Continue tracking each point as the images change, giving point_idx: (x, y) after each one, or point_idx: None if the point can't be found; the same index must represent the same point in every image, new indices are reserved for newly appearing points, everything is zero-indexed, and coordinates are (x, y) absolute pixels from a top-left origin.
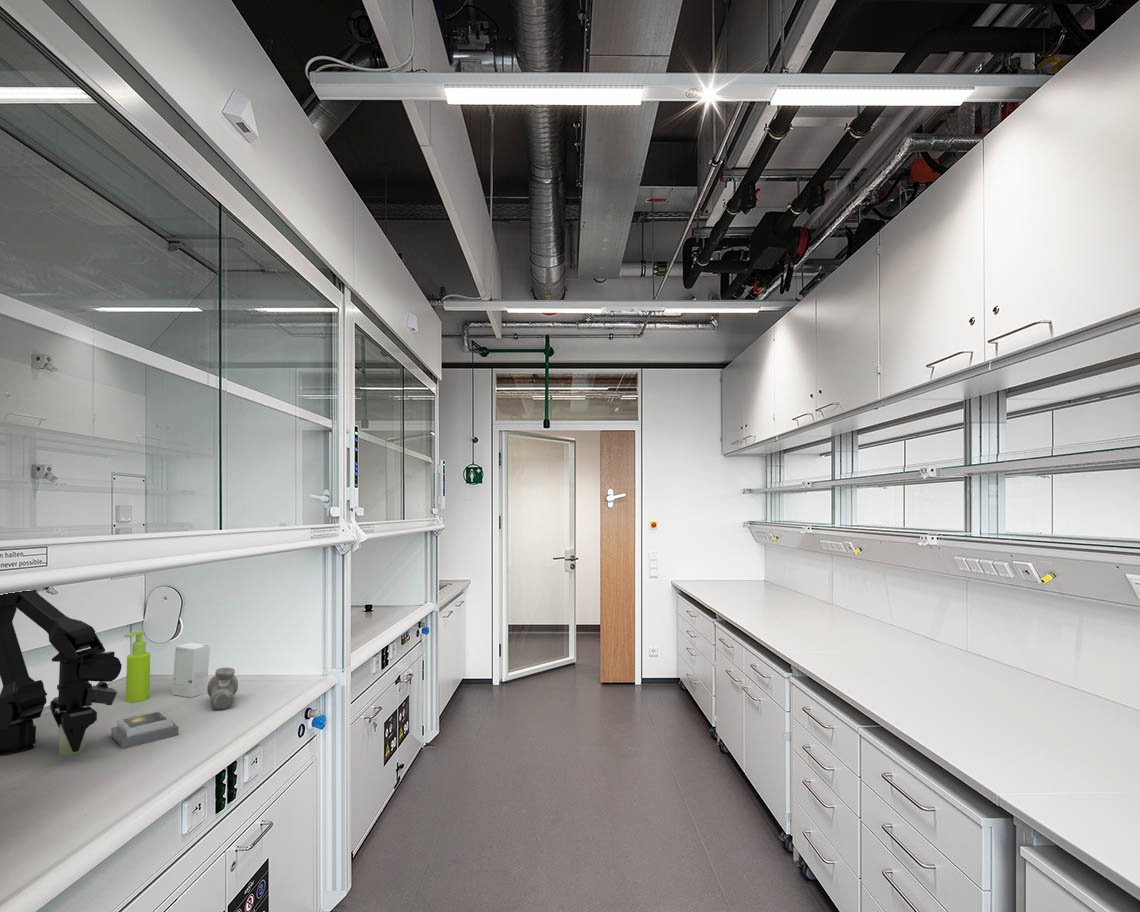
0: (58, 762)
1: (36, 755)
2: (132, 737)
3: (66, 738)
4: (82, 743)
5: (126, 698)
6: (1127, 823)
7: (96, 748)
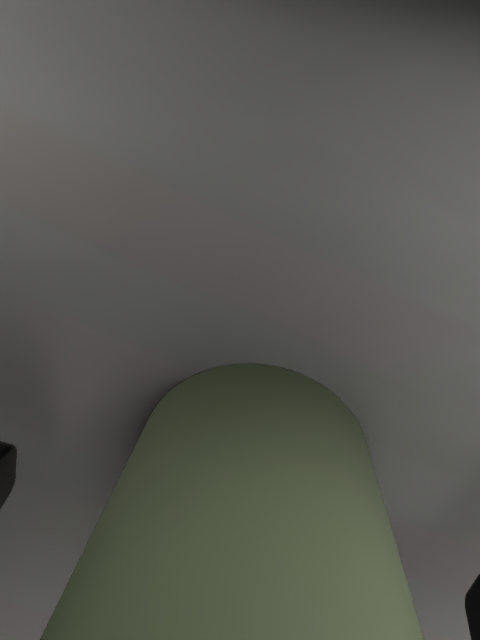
0: None
1: (43, 594)
2: None
3: None
4: (377, 501)
5: None
6: None
7: (371, 278)
